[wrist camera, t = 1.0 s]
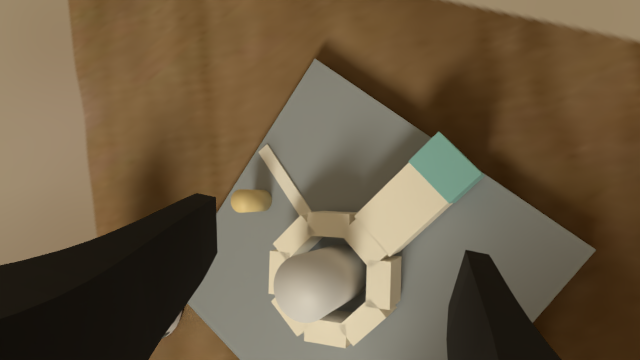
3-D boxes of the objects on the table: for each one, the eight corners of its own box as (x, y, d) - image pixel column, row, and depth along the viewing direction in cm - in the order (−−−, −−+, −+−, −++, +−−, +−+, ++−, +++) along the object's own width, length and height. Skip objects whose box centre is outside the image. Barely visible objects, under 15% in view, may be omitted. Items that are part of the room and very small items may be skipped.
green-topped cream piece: (339, 357, 23) (323, 372, 21) (267, 264, 25) (246, 269, 23) (515, 205, 20) (515, 205, 18) (419, 111, 22) (409, 103, 20)
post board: (591, 247, 20) (620, 266, 15) (381, 489, 23) (339, 579, 18) (323, 64, 25) (270, 28, 20) (184, 282, 29) (105, 302, 23)
